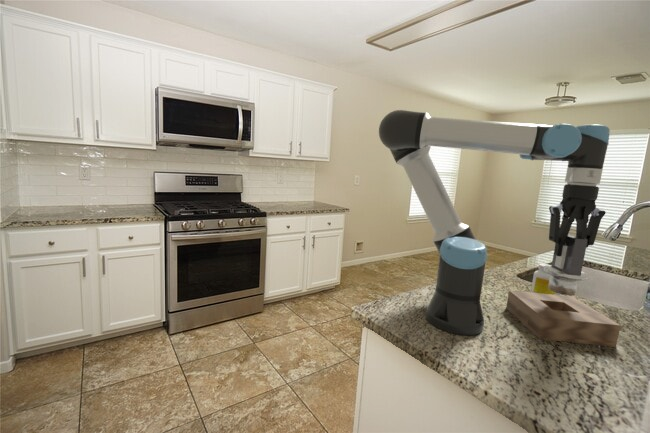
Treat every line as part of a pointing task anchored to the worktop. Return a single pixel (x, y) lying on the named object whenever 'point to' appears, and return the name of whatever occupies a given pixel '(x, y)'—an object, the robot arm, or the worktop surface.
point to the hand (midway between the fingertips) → (565, 267)
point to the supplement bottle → (541, 281)
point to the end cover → (568, 267)
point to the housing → (562, 319)
